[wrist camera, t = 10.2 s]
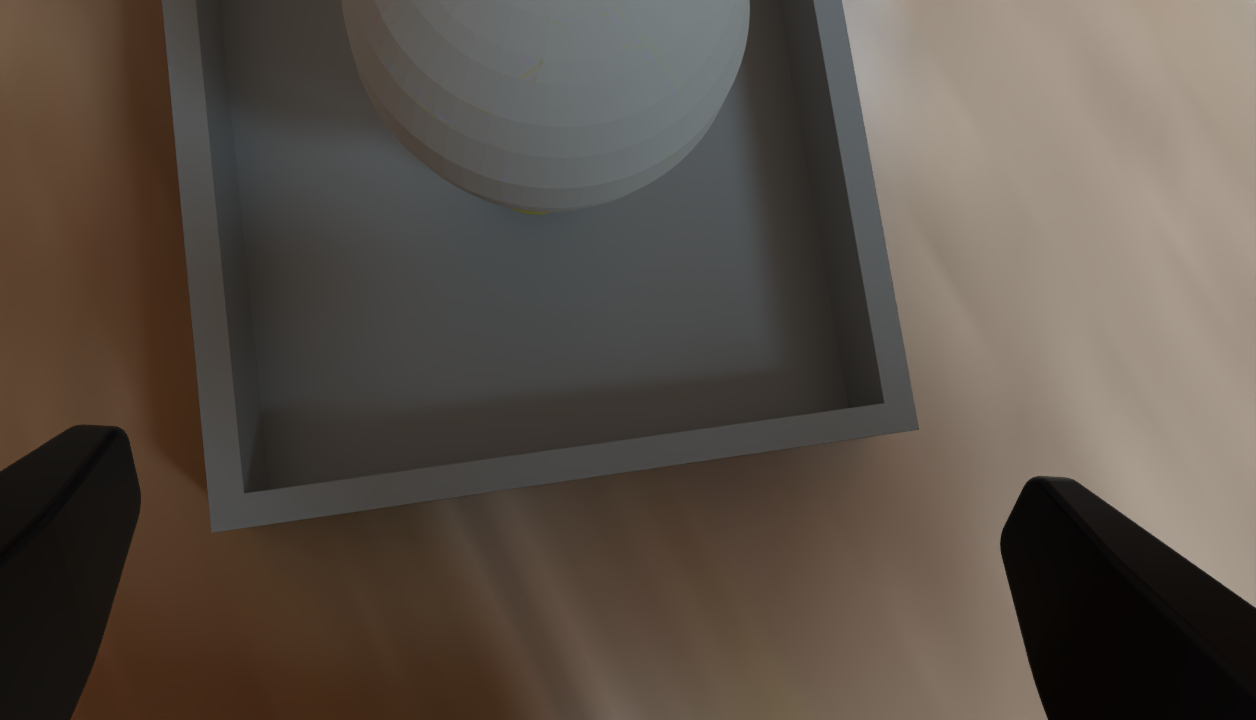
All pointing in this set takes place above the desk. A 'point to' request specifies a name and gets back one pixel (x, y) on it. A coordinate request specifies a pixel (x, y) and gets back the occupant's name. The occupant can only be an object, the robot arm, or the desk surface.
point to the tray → (514, 282)
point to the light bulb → (548, 89)
